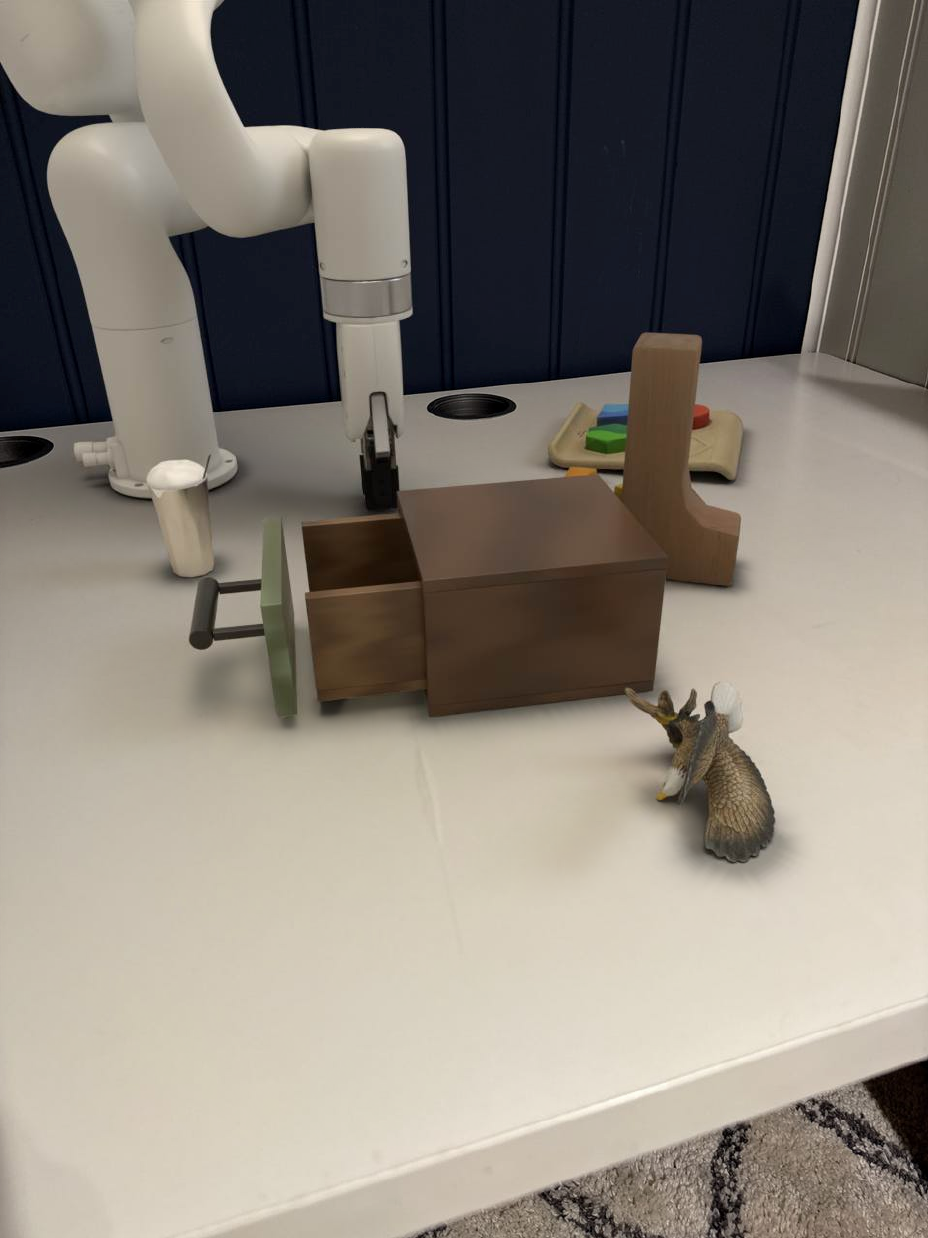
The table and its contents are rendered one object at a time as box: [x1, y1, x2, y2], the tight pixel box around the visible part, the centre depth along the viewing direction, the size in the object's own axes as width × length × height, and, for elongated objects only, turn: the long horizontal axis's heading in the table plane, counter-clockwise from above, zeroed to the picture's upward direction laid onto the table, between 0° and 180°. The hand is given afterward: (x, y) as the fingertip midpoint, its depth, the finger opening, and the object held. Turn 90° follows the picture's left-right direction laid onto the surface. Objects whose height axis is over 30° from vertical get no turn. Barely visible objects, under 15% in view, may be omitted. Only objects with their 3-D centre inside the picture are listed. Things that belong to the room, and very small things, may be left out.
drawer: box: [188, 512, 427, 718], centre depth 58 cm, size 18×12×8 cm
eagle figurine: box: [624, 681, 776, 863], centre depth 47 cm, size 8×7×9 cm
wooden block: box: [621, 332, 742, 587], centre depth 68 cm, size 9×4×18 cm, turn 73°
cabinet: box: [397, 473, 668, 718], centre depth 60 cm, size 15×14×10 cm
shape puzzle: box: [547, 401, 744, 500], centre depth 93 cm, size 25×19×3 cm
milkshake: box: [147, 454, 215, 579], centre depth 71 cm, size 4×5×10 cm
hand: (381, 499), depth 84 cm, fingers closed on glue stick, 2 cm apart
